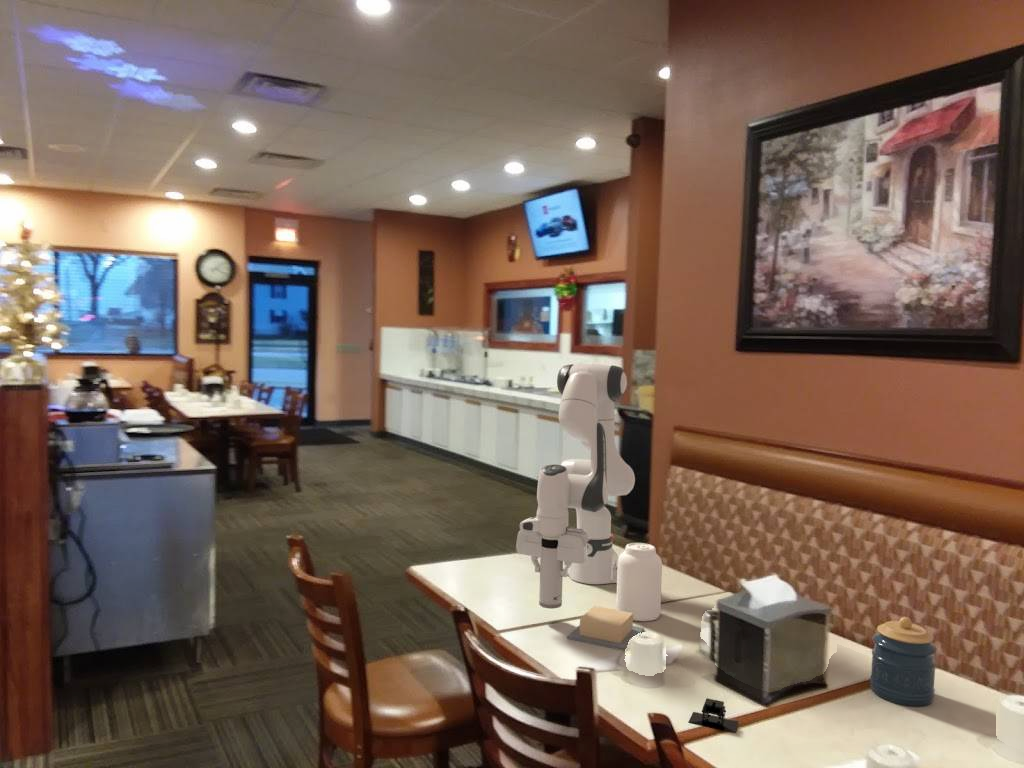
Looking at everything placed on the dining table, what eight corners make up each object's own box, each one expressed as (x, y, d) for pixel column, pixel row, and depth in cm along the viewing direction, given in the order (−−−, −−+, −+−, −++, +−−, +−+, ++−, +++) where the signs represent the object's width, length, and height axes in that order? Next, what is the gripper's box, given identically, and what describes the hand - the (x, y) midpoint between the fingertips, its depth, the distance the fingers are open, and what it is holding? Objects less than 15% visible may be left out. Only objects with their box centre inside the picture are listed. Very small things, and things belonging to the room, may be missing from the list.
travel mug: (561, 610, 208) (563, 537, 207) (537, 607, 210) (539, 535, 208) (564, 602, 214) (566, 531, 213) (541, 599, 216) (543, 530, 215)
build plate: (679, 726, 157) (680, 703, 157) (686, 710, 163) (686, 689, 163) (742, 739, 152) (743, 716, 152) (746, 722, 159) (747, 700, 158)
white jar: (668, 614, 220) (671, 546, 218) (644, 625, 210) (647, 554, 209) (632, 603, 228) (634, 537, 227) (607, 613, 219) (609, 544, 218)
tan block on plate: (588, 619, 214) (589, 601, 214) (644, 630, 207) (644, 611, 207) (567, 638, 200) (567, 619, 199) (626, 650, 193) (626, 631, 192)
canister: (860, 680, 180) (864, 606, 179) (916, 682, 179) (920, 608, 178) (885, 706, 167) (889, 626, 166) (945, 709, 166) (950, 629, 165)
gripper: (591, 527, 209) (590, 576, 210) (523, 517, 218) (522, 565, 219) (583, 532, 203) (582, 583, 204) (514, 522, 212) (513, 571, 213)
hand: (551, 574), depth 211 cm, fingers closed on travel mug, 6 cm apart
